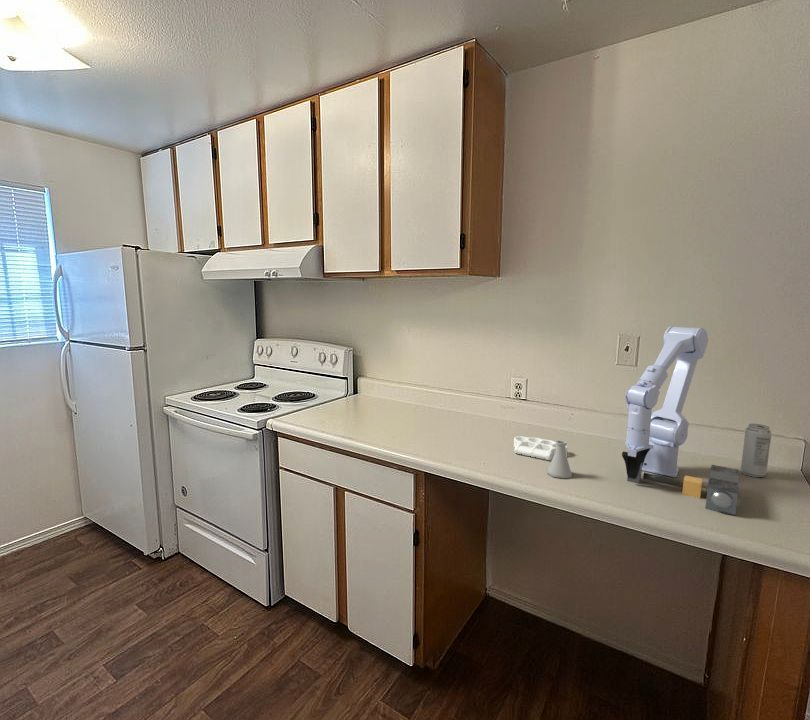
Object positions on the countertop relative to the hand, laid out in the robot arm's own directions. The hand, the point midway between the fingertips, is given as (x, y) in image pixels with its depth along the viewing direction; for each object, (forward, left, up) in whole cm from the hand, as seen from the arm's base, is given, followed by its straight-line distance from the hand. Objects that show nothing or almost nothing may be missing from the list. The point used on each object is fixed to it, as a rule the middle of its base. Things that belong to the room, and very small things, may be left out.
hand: (634, 473), depth 127 cm
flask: (-18, -9, -2) cm, 21 cm away
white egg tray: (-30, +6, -3) cm, 31 cm away
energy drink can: (+28, +27, -2) cm, 39 cm away
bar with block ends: (+8, 0, -2) cm, 8 cm away
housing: (+21, 0, -2) cm, 21 cm away
